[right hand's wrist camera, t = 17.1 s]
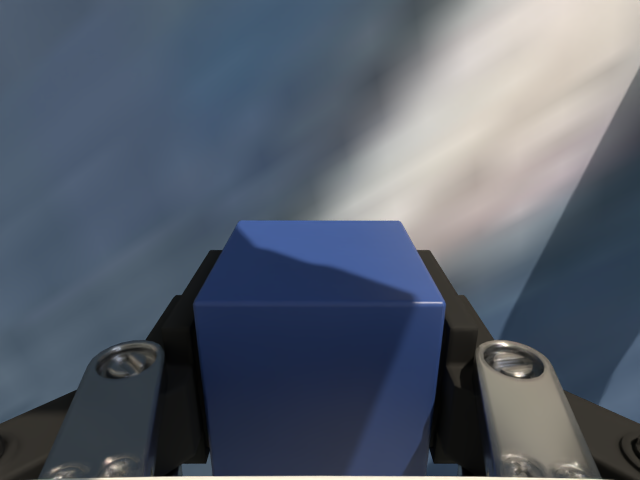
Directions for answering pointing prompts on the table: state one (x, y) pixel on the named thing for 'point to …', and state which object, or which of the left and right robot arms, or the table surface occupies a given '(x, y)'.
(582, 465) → the right robot arm
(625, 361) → the table surface
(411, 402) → the block
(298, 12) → the table surface
